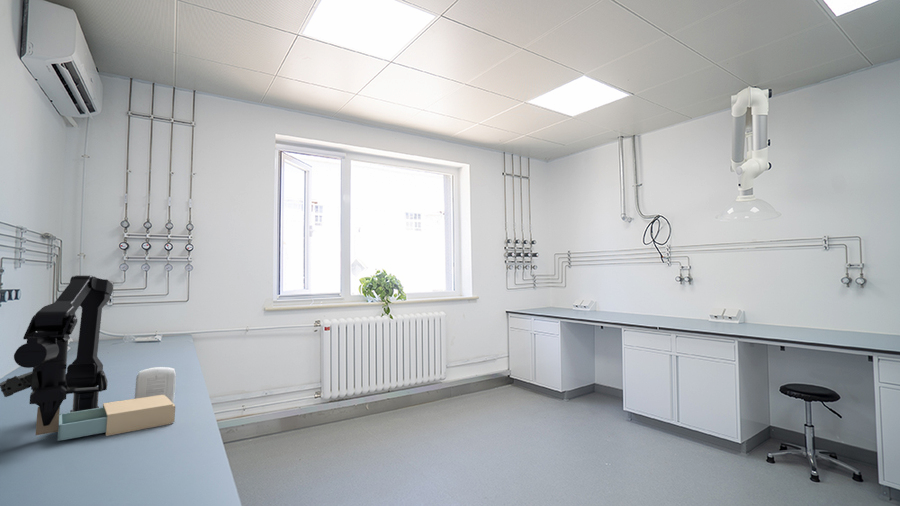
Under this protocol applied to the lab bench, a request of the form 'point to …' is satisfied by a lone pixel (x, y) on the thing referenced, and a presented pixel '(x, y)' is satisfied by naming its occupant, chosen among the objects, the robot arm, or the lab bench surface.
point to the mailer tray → (74, 423)
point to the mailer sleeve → (138, 414)
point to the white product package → (156, 383)
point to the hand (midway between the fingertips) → (46, 424)
